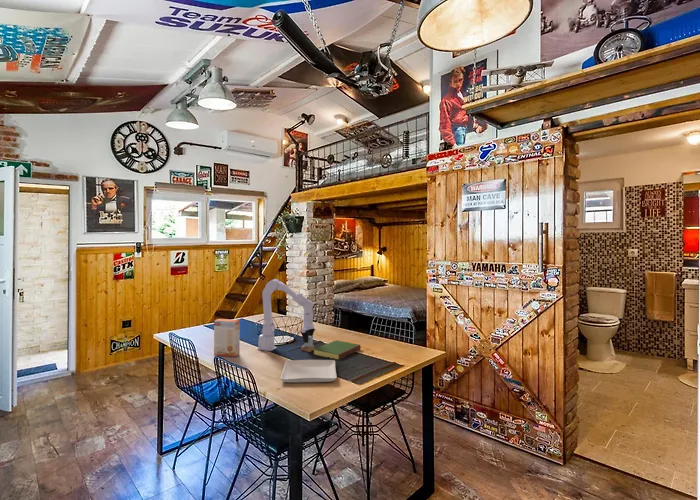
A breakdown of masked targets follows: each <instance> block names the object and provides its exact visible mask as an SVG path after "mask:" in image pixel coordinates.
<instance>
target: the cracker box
mask: <svg viewBox="0 0 700 500" xmlns="http://www.w3.org/2000/svg"><path fill="white" fill-rule="evenodd" d="M240 321H241V320H239V319H229V318H228V319H227V318H216V319H214V323H213V326H214V327H213V334H214V335H213V352H214V353H213V355H215V356H224V357H234V358H235V357H236V356H238V355H240V350H241V349H240V342H241V341H240V336H241V335H240V334H241V333H240V329H241V327H240V326H241V325H240Z"/></svg>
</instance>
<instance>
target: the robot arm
mask: <svg viewBox="0 0 700 500" xmlns="http://www.w3.org/2000/svg"><path fill="white" fill-rule="evenodd" d="M276 290H277V291H283V292H284V293H286V294H287V295H288V296H290V297H292V298H293V299H292V300H293V301H294V302H295V303H296V304H298V305H299V306H300V307H302V308H303V327H302V328H301V331H300V334H301V336H302V338H303V343H308V337H309V336H313V337H314V333H315V331H316V328H315V324H314V321H313V319H314V312H313V311H314V309H313V308H314V302H313V300H311V299H309V298H307V297H305V296H304V295H303V293H300V292H298V293H296V292H295V291H294V290H293V289H292V288H290V287H289V286H288V285H287V284H285V283H284V282H282V281H281V280H279V279H278V278H273V279H272V280H270V281H268V282H266V284H265V287H264V288H263V290H262V292H261V293H262V309H263V310H262V311H263V323H262V329H261V333H262V334H260V335H259V336H258V345H257V346H258V348H257V350H260V351H267V352H273V351H274V350H275V349H277V348H278V347H277V346H275V330H276V325H275V324H274V320H273V313H272V312H273V310H272V297H271V296H272V293H274V292H275V291H276Z"/></svg>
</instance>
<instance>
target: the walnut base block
mask: <svg viewBox="0 0 700 500" xmlns="http://www.w3.org/2000/svg"><path fill="white" fill-rule="evenodd" d="M300 347H301V348H300V349H301V351H302V352H308V353H310V352H312V351H314V349H315V345H314V344H313V345H312V346H311V347H306V346H304V344H303V345H301V346H300Z"/></svg>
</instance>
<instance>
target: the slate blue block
mask: <svg viewBox="0 0 700 500" xmlns="http://www.w3.org/2000/svg"><path fill="white" fill-rule="evenodd" d="M313 342H314V335H313V336H309V337H308V343H304V342H303V343H304V344H303V345H304V346H306V347H311V346H312V345H314V343H313Z"/></svg>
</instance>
